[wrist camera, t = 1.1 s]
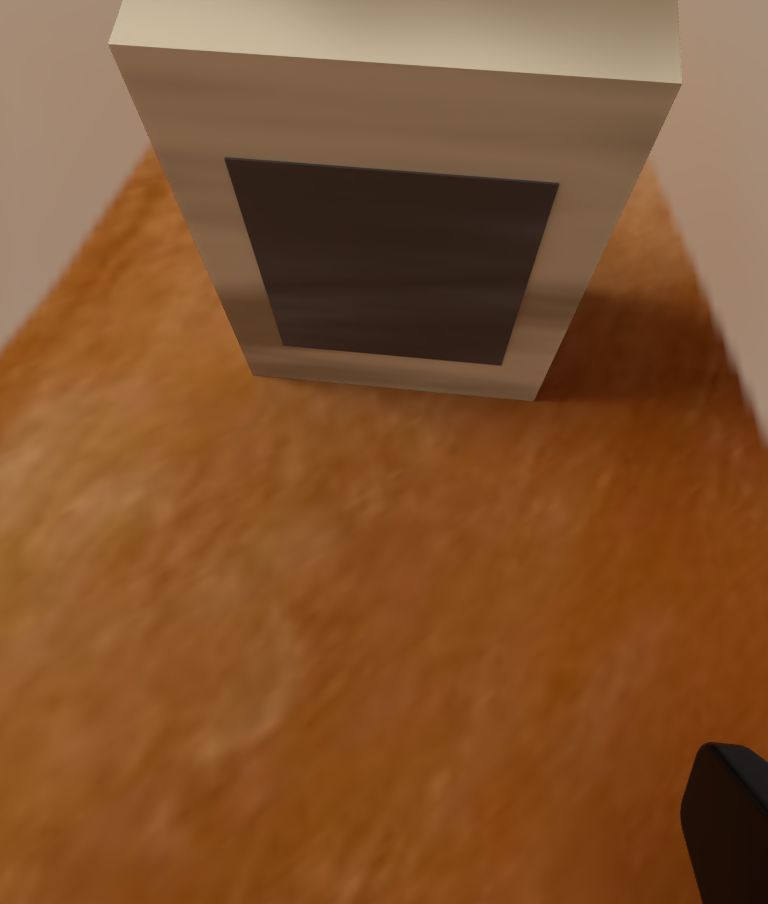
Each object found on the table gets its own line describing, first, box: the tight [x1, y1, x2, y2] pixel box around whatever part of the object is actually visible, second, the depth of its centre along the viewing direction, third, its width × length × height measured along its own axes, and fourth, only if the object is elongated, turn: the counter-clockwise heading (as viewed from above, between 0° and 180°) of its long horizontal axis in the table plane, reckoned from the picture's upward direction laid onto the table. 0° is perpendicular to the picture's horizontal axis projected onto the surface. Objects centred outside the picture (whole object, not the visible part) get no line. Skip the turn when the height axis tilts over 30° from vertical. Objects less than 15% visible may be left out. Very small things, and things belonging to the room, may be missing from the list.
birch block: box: [108, 0, 682, 401], centre depth 19 cm, size 5×10×13 cm, turn 84°
